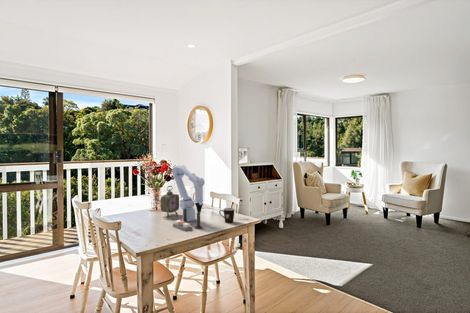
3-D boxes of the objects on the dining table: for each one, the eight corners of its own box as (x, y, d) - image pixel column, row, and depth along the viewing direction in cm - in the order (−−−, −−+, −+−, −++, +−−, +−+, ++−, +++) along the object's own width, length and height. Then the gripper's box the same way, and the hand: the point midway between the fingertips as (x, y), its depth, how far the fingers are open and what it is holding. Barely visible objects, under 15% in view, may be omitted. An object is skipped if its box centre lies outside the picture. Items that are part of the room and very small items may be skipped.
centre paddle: (182, 223, 204) (182, 220, 204) (185, 224, 202) (185, 221, 201) (178, 224, 202) (178, 221, 202) (181, 225, 199) (181, 222, 199)
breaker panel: (179, 224, 210) (179, 219, 210) (192, 229, 198) (192, 223, 198) (172, 226, 206) (172, 220, 205) (185, 231, 194) (185, 225, 194)
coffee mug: (237, 221, 216) (236, 209, 216) (228, 224, 210) (228, 211, 210) (226, 219, 225) (226, 206, 224) (218, 221, 219) (218, 208, 218)
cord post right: (199, 226, 205) (199, 211, 204) (203, 228, 201) (203, 212, 201) (193, 228, 201) (193, 212, 201) (197, 229, 198) (197, 214, 197)
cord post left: (185, 221, 217) (185, 207, 217) (189, 223, 214) (189, 208, 213) (180, 223, 214) (180, 208, 213) (184, 224, 210) (183, 209, 210)
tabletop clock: (168, 218, 228) (167, 187, 227) (159, 216, 232) (159, 186, 231) (179, 214, 241) (179, 185, 240) (171, 213, 245) (170, 184, 244)
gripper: (192, 193, 217) (192, 210, 218) (195, 196, 203) (195, 215, 204) (201, 192, 219) (201, 209, 220) (205, 196, 205) (205, 214, 206)
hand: (199, 212), depth 212 cm, fingers closed
